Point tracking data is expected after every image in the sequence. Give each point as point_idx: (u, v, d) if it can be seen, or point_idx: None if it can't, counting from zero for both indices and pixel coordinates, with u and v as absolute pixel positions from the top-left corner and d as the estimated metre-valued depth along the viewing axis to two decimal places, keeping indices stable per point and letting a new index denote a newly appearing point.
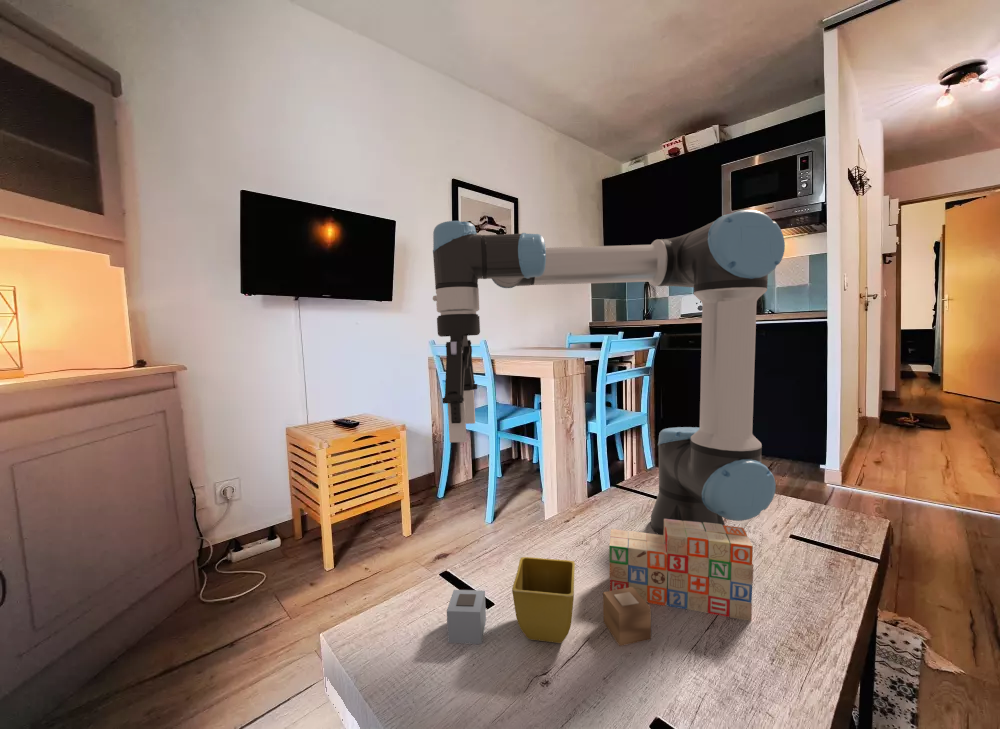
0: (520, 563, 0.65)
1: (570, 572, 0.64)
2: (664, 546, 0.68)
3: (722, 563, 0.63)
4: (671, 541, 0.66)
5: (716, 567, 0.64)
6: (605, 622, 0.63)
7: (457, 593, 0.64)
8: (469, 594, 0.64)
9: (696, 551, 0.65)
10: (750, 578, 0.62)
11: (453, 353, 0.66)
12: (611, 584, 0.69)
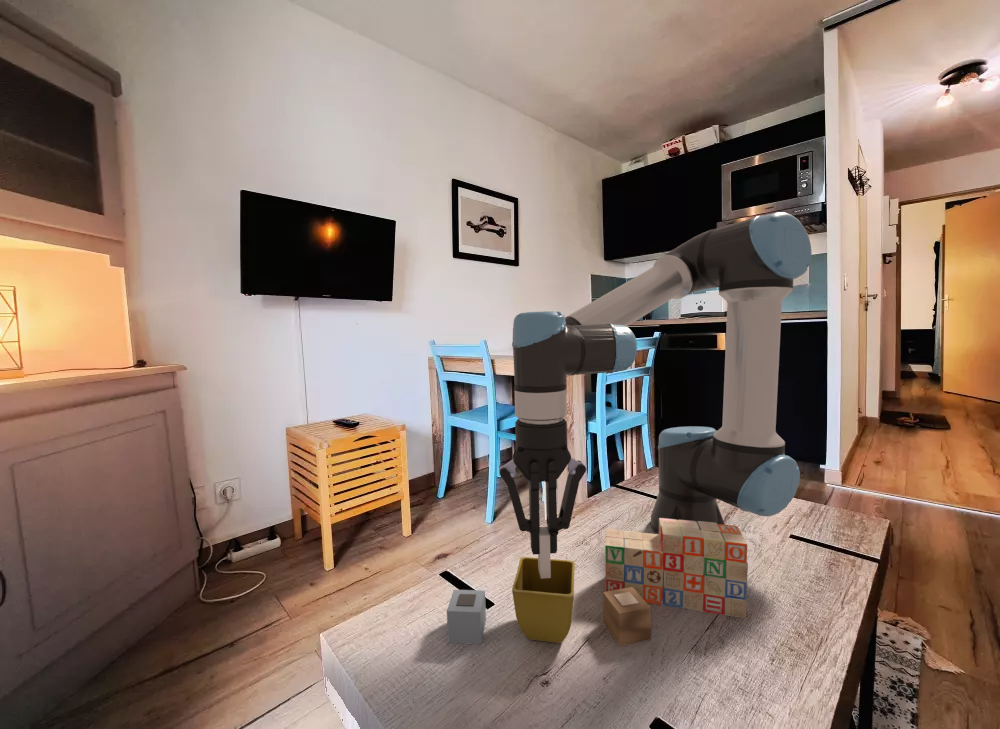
0: (520, 563, 0.65)
1: (570, 572, 0.64)
2: (660, 545, 0.68)
3: (717, 561, 0.64)
4: (667, 540, 0.66)
5: (711, 565, 0.64)
6: (605, 622, 0.63)
7: (457, 593, 0.64)
8: (469, 594, 0.64)
9: (692, 550, 0.65)
10: (745, 576, 0.63)
11: None
12: (607, 584, 0.70)
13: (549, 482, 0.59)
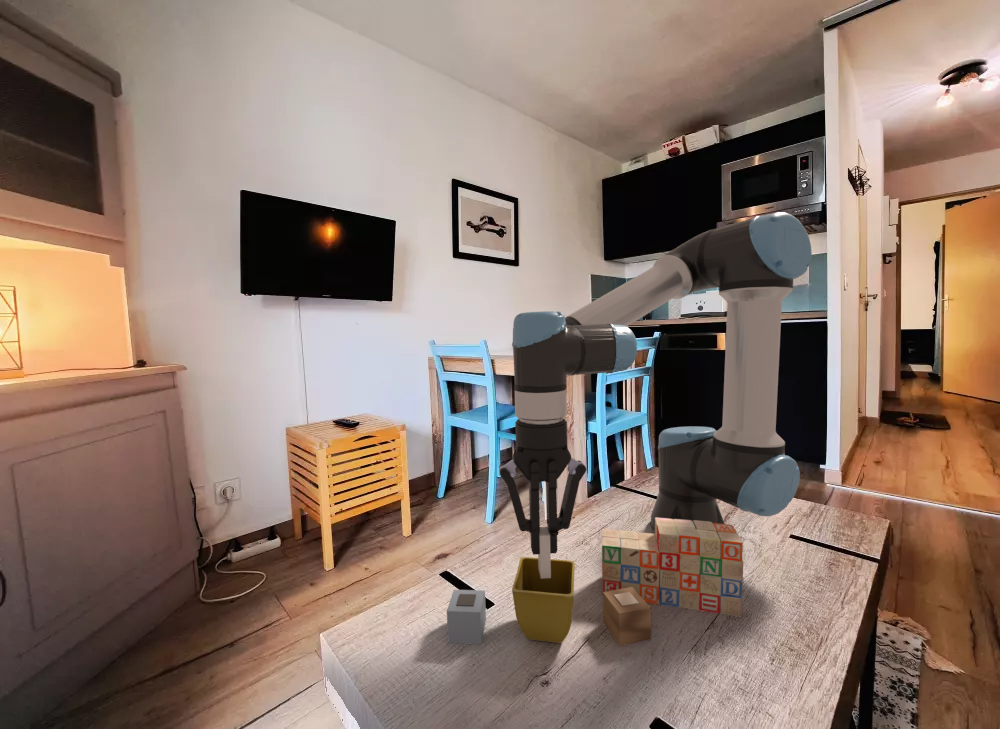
0: (520, 563, 0.65)
1: (570, 572, 0.64)
2: (656, 545, 0.68)
3: (713, 560, 0.64)
4: (663, 540, 0.66)
5: (707, 564, 0.65)
6: (605, 622, 0.63)
7: (457, 593, 0.64)
8: (469, 594, 0.64)
9: (688, 549, 0.65)
10: (740, 574, 0.63)
11: None
12: (604, 584, 0.70)
13: (549, 482, 0.59)
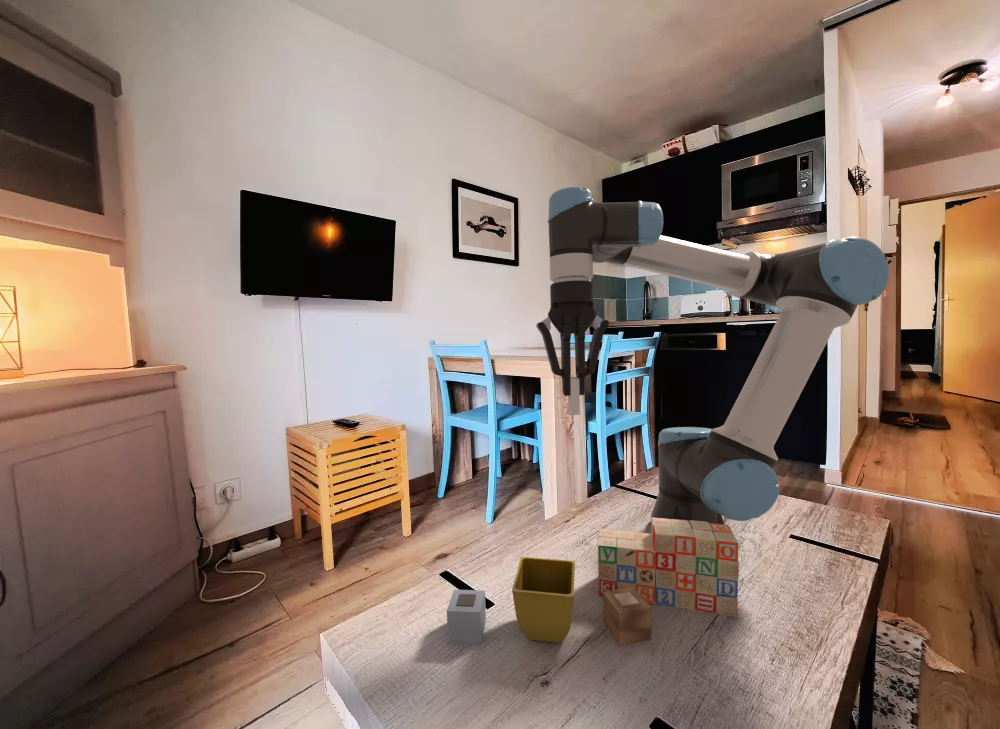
0: (520, 563, 0.65)
1: (570, 572, 0.64)
2: (652, 545, 0.68)
3: (709, 560, 0.64)
4: (659, 540, 0.66)
5: (703, 564, 0.65)
6: (605, 622, 0.63)
7: (457, 593, 0.64)
8: (469, 594, 0.64)
9: (684, 549, 0.65)
10: (736, 574, 0.63)
11: None
12: (600, 584, 0.70)
13: (579, 332, 0.71)
